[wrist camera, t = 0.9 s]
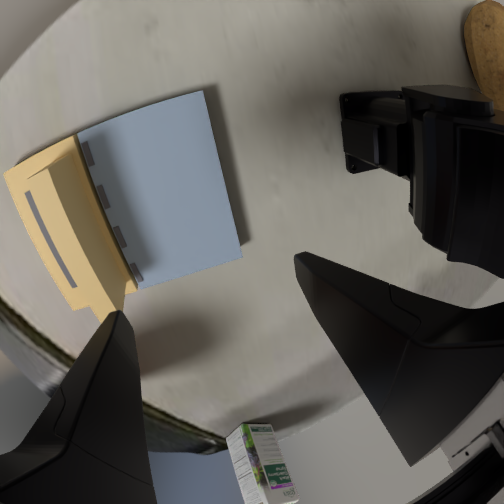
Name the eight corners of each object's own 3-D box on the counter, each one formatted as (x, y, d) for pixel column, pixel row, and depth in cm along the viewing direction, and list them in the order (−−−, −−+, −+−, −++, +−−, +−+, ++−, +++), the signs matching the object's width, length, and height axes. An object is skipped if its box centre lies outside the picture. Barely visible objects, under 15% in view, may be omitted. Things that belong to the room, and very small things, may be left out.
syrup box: (272, 422, 40) (303, 499, 28) (253, 438, 42) (278, 510, 30) (241, 422, 38) (270, 507, 26) (223, 438, 39) (247, 516, 27)
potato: (468, -4, 14) (522, -2, 8) (501, 97, 22) (549, 112, 15) (430, 6, 15) (495, 3, 8) (470, 124, 23) (527, 145, 16)
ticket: (200, 91, 16) (202, 90, 15) (238, 247, 23) (243, 258, 21) (83, 130, 15) (76, 133, 14) (141, 278, 22) (140, 290, 20)
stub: (79, 132, 15) (48, 146, 10) (138, 279, 22) (134, 328, 17) (12, 167, 14) (-28, 193, 10) (77, 299, 21) (63, 347, 16)
